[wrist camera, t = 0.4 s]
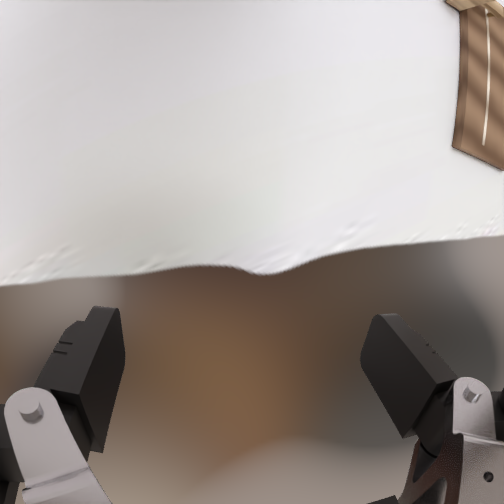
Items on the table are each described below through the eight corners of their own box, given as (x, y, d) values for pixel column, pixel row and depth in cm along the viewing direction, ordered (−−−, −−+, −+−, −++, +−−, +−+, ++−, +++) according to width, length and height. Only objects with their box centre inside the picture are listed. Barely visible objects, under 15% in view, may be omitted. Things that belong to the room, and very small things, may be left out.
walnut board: (456, -21, 26) (464, -25, 24) (506, 17, 29) (514, 16, 27) (452, 146, 37) (461, 147, 35) (501, 170, 39) (510, 172, 37)
